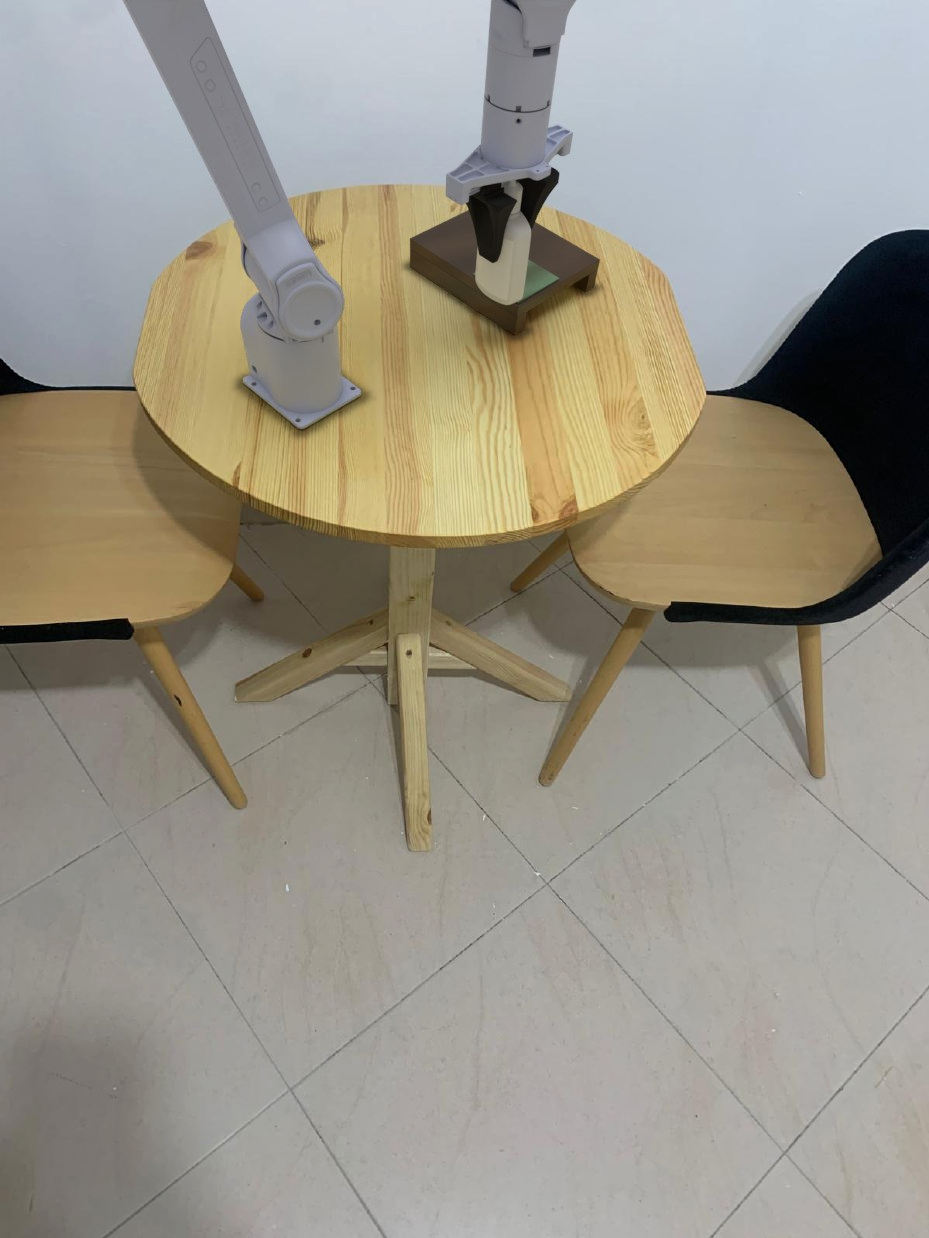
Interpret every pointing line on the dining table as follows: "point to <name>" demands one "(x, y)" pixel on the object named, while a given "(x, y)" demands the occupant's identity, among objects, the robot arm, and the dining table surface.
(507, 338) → the dining table surface
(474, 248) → the shelf
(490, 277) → the eye dropper bottle
